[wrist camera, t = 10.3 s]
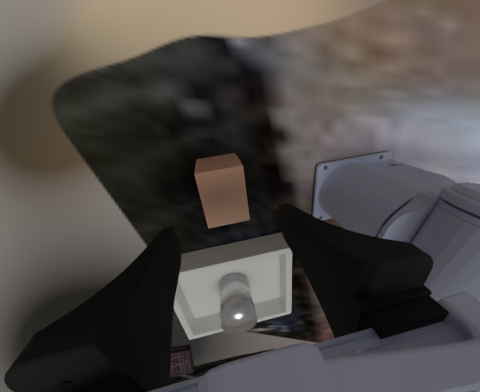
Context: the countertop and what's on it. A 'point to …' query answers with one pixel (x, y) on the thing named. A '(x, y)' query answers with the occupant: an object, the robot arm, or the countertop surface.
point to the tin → (236, 303)
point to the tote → (230, 261)
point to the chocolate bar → (181, 360)
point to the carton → (222, 189)
